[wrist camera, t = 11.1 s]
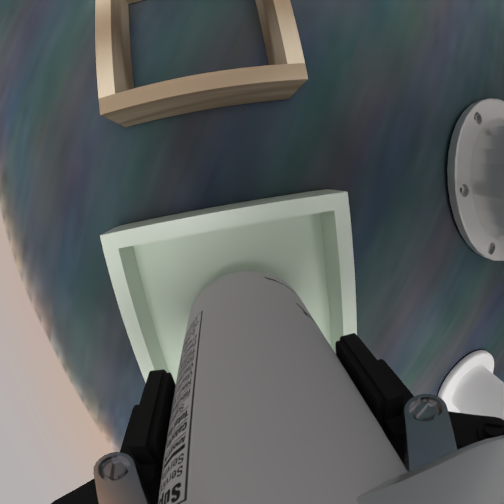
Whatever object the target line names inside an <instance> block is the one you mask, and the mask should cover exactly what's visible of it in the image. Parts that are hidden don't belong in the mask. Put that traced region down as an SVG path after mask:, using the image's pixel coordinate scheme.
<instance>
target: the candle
mask: <svg viewBox="0 0 504 504" xmlns="http://www.w3.org/2000/svg"><path fill="white" fill-rule="evenodd" d="M493 370H494V359H493V357H492V355H491V354H490V353H488V352H487V351H485V350H478V351H475V352H472V353H470V354H469V355H467V356H466V357H464V358H463V359H462V360H461V361H460V362H459V363H457V365H456V366H455V367H454V368H453V369H452V370H451V371H450V373H449V374H448V375H447V377H446V378H445V380H444V382H443V384H442V385H441V388H440V390H439V393H438V397H440V398H441V399H442V400H443V401H444V402H445V404H446V406H447V409H448V411H450V412H457V413H459V412H461V413H464V414H473V415H482V416H491V417H498V418H501V419H503V420H504V383H503V382H502V381H501V380H500V379H499V378H497V377H496V376H495V375H494V374H493Z"/></svg>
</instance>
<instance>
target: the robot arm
mask: <svg viewBox="0 0 504 504" xmlns="http://www.w3.org/2000/svg"><path fill="white" fill-rule="evenodd" d="M447 175H448V191H449V198H450V205H451V208H452V212H453V216H454V219H455V222H456V224H457V227H458V229H459V232H460V234H461V235H462V237H463V239H464V240H465V242H466V243H467V245H468V246H469V247H470V248H471V249H472V250H473V251H474V252H475V253H477V254H479V255H481V256H482V257H485V258H488V259H491V260H493V261H504V101H502V100H500V99H491V98H489V99H484V100H479V101H477V102H475V103H473V104H471V105H470V106H469V107H468V108H467V109H466V110H465V111H464V112H463V113H462V115H461V116H460V118H459V120H458V121H457V123H456V126H455V128H454V131H453V134H452V137H451V142H450V147H449V152H448V166H447ZM336 356H337V357H338V359H339V360H340V362H341V364H342V365H343V367H344V368H345V370H346V372H347V373H348V375H349V376H350V378H351V380H352V381H353V383H354V384H355V386H356V388H357V389H358V391H359V392H360V394H361V396H362V397H363V399H364V400H365V402H366V404H367V405H368V407H369V409H370V410H371V412H372V413H373V415H374V417H375V418H376V420H377V421H378V423H379V425H380V426H381V428H382V430H383V431H384V433H385V435H386V436H387V438H388V439H389V441H390V443H391V444H392V446H393V448H394V449H395V451H396V453H397V454H398V456H399V458H400V459H401V461H402V462H403V464H404V466H405V467H406V469H407V471H408V472H407V473H404V474H402V475H400V476H397V477H395V478H392V479H389V480H387V481H385V482H383V483H382V484H380V485H379V486H377V487H375V488H373V489H371V490H369V491H367V492H366V493H364V494H362V495H360V496H359V497H357V498H356V500H357V503H358V504H504V420H503V419H501V418H498V417H491V416H482V415H473V414H464V413H457V412H450V411H448V409H447V406H446V404H445V402H444V401H443V400H442V399H441V398H440V397H438V396H435V395H431V394H422V395H417V396H415V397H414V396H413V395H412V394H411V392H410V391H409V390H408V389H407V387H406V386H405V385H404V384H403V383H402V381H401V380H400V379H399V378H398V377H397V375H396V374H395V373H394V372H393V371H392V369H391V368H390V367H389V366H388V365H387V363H386V362H385V361H384V360H382V359H380V360H377V359H376V358H375V357H374V356H373V354H372V353H371V352H370V351H369V349H368V348H367V347H366V346H365V345H364V343H363V342H362V341H361V340H360V338H359V337H358V336H357V335H356V334H355V333H352V334H348V335H344V336H341V337H340V341H336ZM175 386H176V385H175V382H174V379H173V376H172V374H171V373H170V372H169V373H167V372H166V370H164V369H162V370H153V371H150V372H149V375H148V378H147V381H146V384H145V388H144V391H143V394H142V398H141V401H140V404H139V405H135V406H134V408H133V410H132V414H131V417H130V420H129V423H128V427H127V430H126V433H125V437H124V440H123V443H122V447H121V450H120V452H114V453H109V454H107V455H104V456H103V457H102V458H100V459H99V460H98V461H97V462H96V464H95V466H94V479H93V480H91V481H89V482H88V483H86V484H84V485H82V486H81V487H79V488H77V489H76V490H74V491H72V492H70V493H68V494H66V495H65V496H63V497H61V498H59V499H57V500H55V501H54V502H53V503H52V504H158V498H159V490H160V483H161V475H162V468H163V461H164V454H165V447H166V441H167V434H168V428H169V422H170V415H171V409H172V403H173V398H174V392H175Z"/></svg>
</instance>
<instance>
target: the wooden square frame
mask: <svg viewBox="0 0 504 504" xmlns="http://www.w3.org/2000/svg"><path fill="white" fill-rule="evenodd" d="M139 1H143V0H96V4H95V42H96V68H97V84H98V97H99V108H100V115H101V116H103V117H105V118H107V119H109V120H111V121H113V122H115V123H117V124H119V125H121V126H123V127H129V126H132V125H136V124H140V123H145V122H149V121H153V120H157V119H162V118H166V117H171V116H176V115H181V114H186V113H191V112H196V111H202V110H207V109H213V108H220V107H226V106H233V105H240V104H247V103H255V102H264V101H274V100H284V99H290V98H291V97H292V95H293V94H294V93H295V92H296V91H297V90H298V89H299V88H300V87H301V86H302V85H303V84H304V83H305V82H306V81H307V80H308V75H307V70H306V66H305V61H304V56H303V52H302V47H301V43H300V39H299V34H298V30H297V26H296V22H295V18H294V14H293V10H292V6H291V2H290V0H255V2H256V6H257V11H258V15H259V20H260V25H261V30H262V35H263V39H264V44H265V49H266V54H267V59H268V65H266V66H256V67H246V68H238V69H230V70H223V71H216V72H209V73H203V74H198V75H192V76H187V77H182V78H177V79H172V80H167V81H162V82H158V83H154V84H150V85H145V86H141V87H138V88H134V80H133V69H132V58H131V44H130V28H129V6H128V4H131V3H135V2H139Z"/></svg>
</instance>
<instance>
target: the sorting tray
mask: <svg viewBox="0 0 504 504" xmlns="http://www.w3.org/2000/svg"><path fill="white" fill-rule="evenodd" d="M100 238H101V243H102V247H103V251H104V255H105V259H106V263H107V267H108V271H109V274H110V278H111V282H112V285H113V289H114V292H115V296H116V299H117V302H118V306H119V309H120V312H121V315H122V318H123V322H124V325H125V328H126V331H127V334H128V337H129V339H130V342H131V345H132V348H133V351H134V354H135V356H136V359H137V362H138V364H139V367H140V370H141V372H142V375H143V377H144V380H145V382H146V381H147V378H148V375H149V372H150V371H153V370H162V369H164V370H166V372H167V373H169V372H170V373H171V374H172V376H173V379H174V382H175V385H176V380H177V375H178V369H179V364H180V359H181V353H182V348H183V343H184V338H185V333H186V328H187V323H188V318H189V314H190V310H191V307H192V305H193V303H194V301H195V299H196V298H197V296H198V295H199V294H200V293H201V292H202V290H203V289H204V288H205V287H207V286H208V285H209V284H210V283H212V282H213V281H215V280H216V279H218V278H220V277H222V276H224V275H227V274H231V273H234V272H240V271H259V272H264V273H267V274H271V275H274V276H276V277H278V278H279V279H281V280H283V281H284V282H286V283H287V284H288V285H289V286H291V287H292V288H293V290H294V291H295V292H296V293H297V295H298V296H299V297H300V299H301V300H302V302H303V304H304V305H305V307H306V308H307V310H308V311H309V313H310V315H311V316H312V318H313V319H314V321H315V322H316V324H317V326H318V327H319V329H320V330H321V332H322V333H323V335H324V337H325V338H326V340H327V341H328V343H329V344H330V346H331V348H332V349H333V351H334V352H335V354H336V341H340V337H341V336H344V335H348V334H352V333H355V334H356V335H357V317H356V289H355V270H354V255H353V242H352V230H351V219H350V209H349V200H348V192H346V191H339V190H331V189H323V190H316V191H309V192H302V193H295V194H289V195H282V196H276V197H269V198H263V199H257V200H251V201H245V202H239V203H233V204H227V205H221V206H216V207H210V208H205V209H199V210H194V211H189V212H183V213H178V214H173V215H168V216H163V217H158V218H153V219H148V220H143V221H138V222H134V223H129V224H124V225H120V226H117V227H115V228H113V229H111V230H109V231H107V232H105V233H104V234H102V235H100Z"/></svg>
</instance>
